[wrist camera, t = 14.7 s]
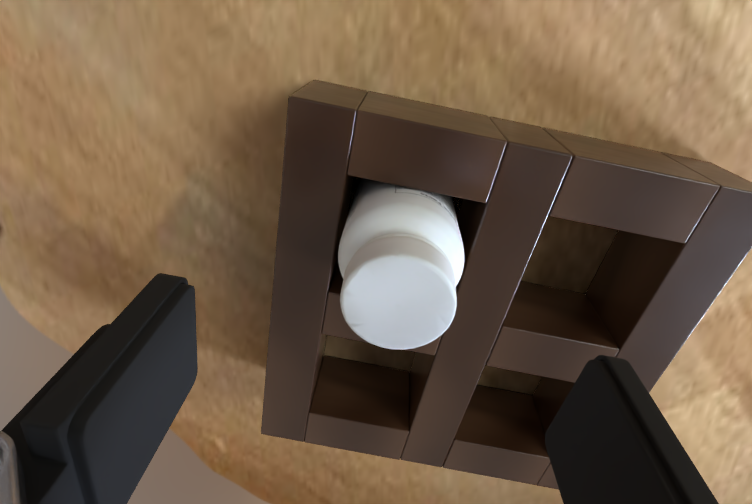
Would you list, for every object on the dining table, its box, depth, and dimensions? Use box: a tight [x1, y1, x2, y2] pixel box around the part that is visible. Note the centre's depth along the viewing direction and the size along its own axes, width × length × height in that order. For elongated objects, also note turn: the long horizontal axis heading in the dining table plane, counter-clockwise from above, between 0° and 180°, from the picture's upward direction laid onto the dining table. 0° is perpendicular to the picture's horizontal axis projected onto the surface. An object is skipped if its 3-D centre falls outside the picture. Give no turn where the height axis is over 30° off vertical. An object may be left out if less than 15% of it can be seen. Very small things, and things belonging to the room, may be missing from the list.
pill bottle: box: [338, 178, 464, 350], centre depth 16 cm, size 4×4×8 cm
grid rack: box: [261, 80, 752, 489], centre depth 19 cm, size 16×16×4 cm
